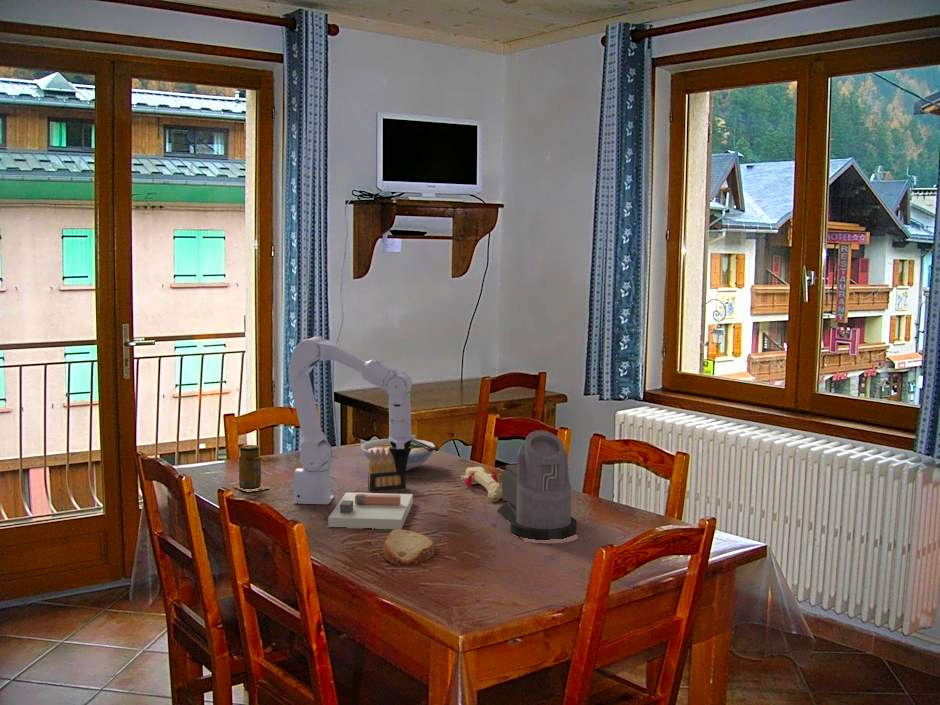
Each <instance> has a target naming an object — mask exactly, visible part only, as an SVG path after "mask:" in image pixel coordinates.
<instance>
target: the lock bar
mask: <svg viewBox="0 0 940 705" xmlns="http://www.w3.org/2000/svg"><path fill="white" fill-rule="evenodd" d="M400 503H401V495H369V494H356V495H355V504H383V505H400Z"/></svg>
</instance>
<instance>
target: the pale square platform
mask: <svg viewBox="0 0 940 705" xmlns="http://www.w3.org/2000/svg"><path fill="white" fill-rule="evenodd" d="M356 494H369V495H401V503H400V505H383V504H355V495H356ZM413 500H414V494H413V493H383V492H381V493H379V492H378V493H377V492H375V493H373V492H345V494H344V495H343V497H342V498H341V499H340V501H339V502H338V504H337V505H336V506H335V507H334V509H333V510H332V512H331V514H329V516H328V518H327V520H328V521H327V522H328V525H327V526H328V527H347V528H346V529H363V528H372V529H373V530H399V529H400V530H403V526H404V524H405V522H406V519H407V517H408V515H409V512H410V511H411V508H412V506H413V502H414V501H413ZM374 528H375V529H374ZM372 529H371V530H372Z"/></svg>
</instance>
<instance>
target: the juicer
mask: <svg viewBox="0 0 940 705" xmlns="http://www.w3.org/2000/svg"><path fill="white" fill-rule="evenodd" d="M524 442H525V443H524V444H522V445H521V446H520V447H519V449H518V450H517V454H516V461H517V462H516V463H515V464H506V465H505V469H503V470H502V473H501V474H502V487H501V489H502V495H503V496H504V497H505V498H506V499H507V501H508V502H505V501H504V503H503V504H502V505H501V506H500V507H499V508H498V509H497V510H496V511H497V512H496V513H498V512H499V513H500V514H501V515H502V516H503V517H504V518H505V519H506V520H508V521H509V522H510V523H511V525H510V529H509V530H510V531H511V532H510V534H511V533H512V534H514V535H516V536H518V537H522V538H528V539H535V540H550V539H564V538H567V537H570V536H573V535H575V534H576V531H577V530H578V529H577V528H578V526H577V525H578V524H577V523H578V522H577V520H576V519H575V518H574V517H572V484H571V482H570V477H569V476H570V475H569V474H570V472H569V464H568V453H567V451H566V450H565V446H564V444H563V442H562V440H561V439H560V438H559V437H558V436H557V435H555V434H554V433H552V432H550V431H546V430H542V429H541V430H534V431H532V432H530V433H528V435H527V436H526V437H525V441H524ZM499 513H498V514H499ZM500 514H499V515H500ZM501 515H500V516H501ZM502 516H501V517H502ZM503 517H502V518H503ZM504 518H503V519H504ZM505 519H504V520H505ZM506 520H505V521H506ZM512 534H511V535H512Z"/></svg>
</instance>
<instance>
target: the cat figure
mask: <svg viewBox="0 0 940 705" xmlns="http://www.w3.org/2000/svg"><path fill="white" fill-rule="evenodd" d="M489 472H491V473H487V472H486V470H485V468H483V467H482V466H473V467H470V466H469V467H466V469H465V471H464V474H465V475H461V476H460V481H463V482H464V484H465V486H467V488H468V489H470V490H471V491H472V490H473V486H472V485H477V484H478V485H481V486H483V487H484V488H485V489H486V491H487V497H488V498H489V501H490V502H491V503H493V502H496V503H498V502H499V500H501V499H502V501H503V502H505V501H507V499H506V498H505V497H504V496H503V495H502V473H496V472H495V471H493V470H492V469H490V470H489Z"/></svg>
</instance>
